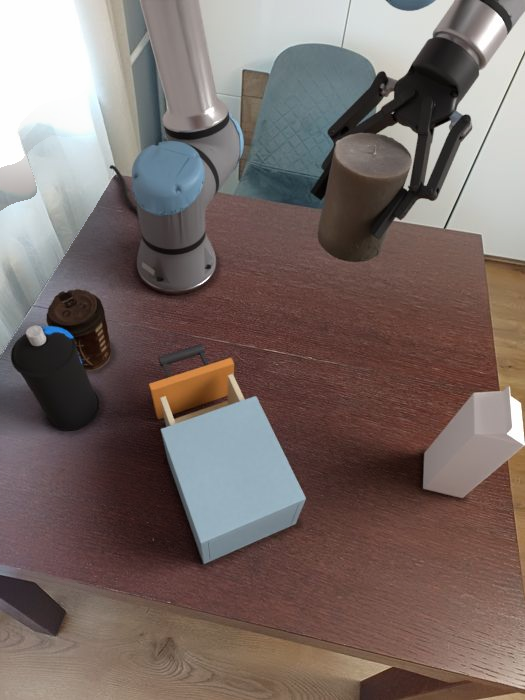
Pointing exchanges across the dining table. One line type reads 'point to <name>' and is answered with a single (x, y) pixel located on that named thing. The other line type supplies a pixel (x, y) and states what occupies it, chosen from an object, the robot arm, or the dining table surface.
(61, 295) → the coffee cup
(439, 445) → the milk
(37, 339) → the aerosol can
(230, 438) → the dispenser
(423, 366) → the dining table surface
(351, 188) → the pillar candle
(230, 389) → the orange drawer
